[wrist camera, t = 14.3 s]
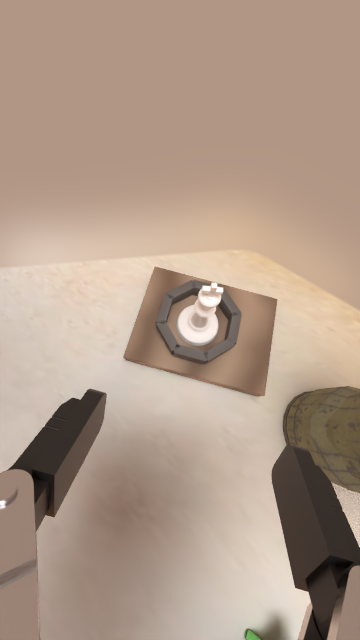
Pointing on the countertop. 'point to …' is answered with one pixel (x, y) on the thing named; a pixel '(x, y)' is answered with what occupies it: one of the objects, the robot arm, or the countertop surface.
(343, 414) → the thermos
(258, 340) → the socket board
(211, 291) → the chess piece
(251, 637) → the blue and green toy
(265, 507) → the countertop surface
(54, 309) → the countertop surface
